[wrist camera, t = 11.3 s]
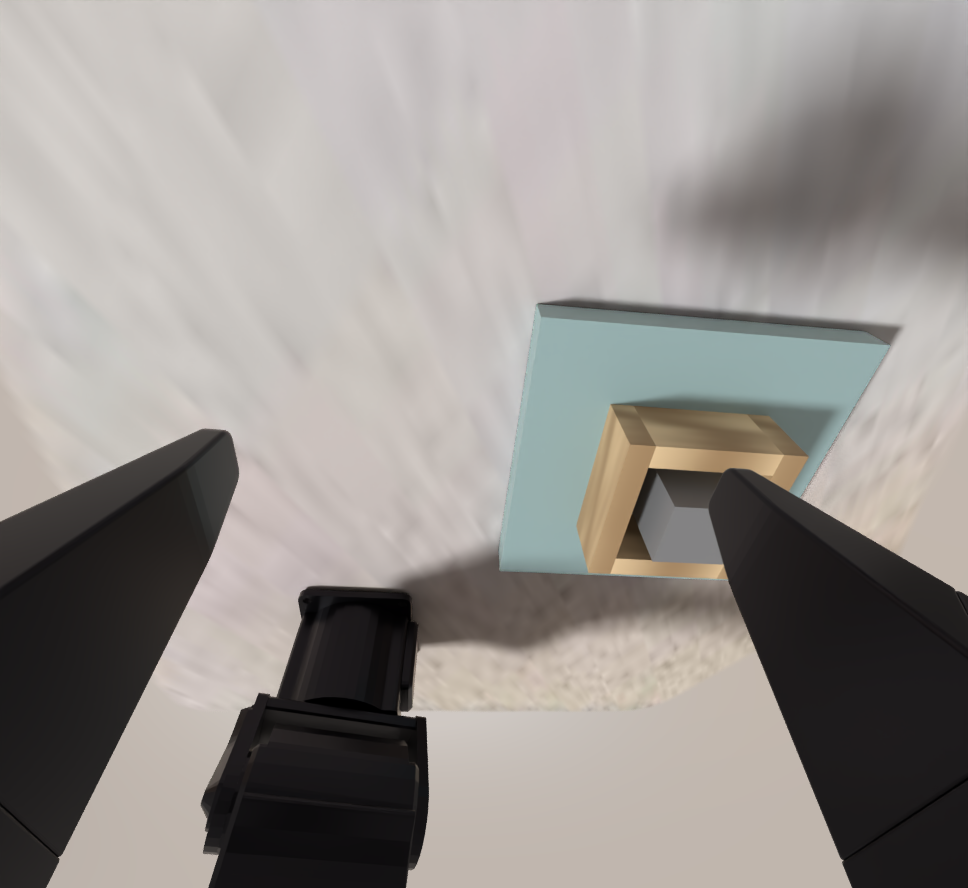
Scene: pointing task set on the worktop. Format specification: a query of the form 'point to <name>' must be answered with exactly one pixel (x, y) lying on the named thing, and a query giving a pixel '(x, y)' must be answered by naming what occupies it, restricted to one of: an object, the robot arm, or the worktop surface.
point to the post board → (663, 384)
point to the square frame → (669, 445)
